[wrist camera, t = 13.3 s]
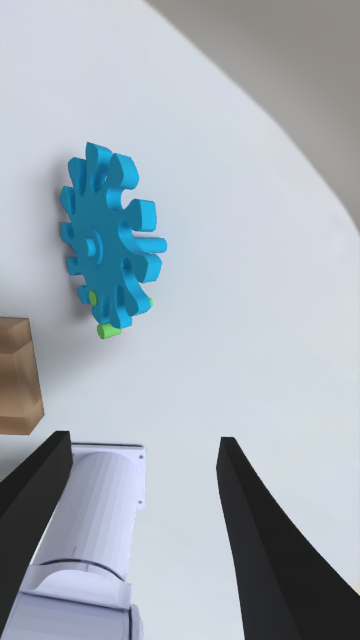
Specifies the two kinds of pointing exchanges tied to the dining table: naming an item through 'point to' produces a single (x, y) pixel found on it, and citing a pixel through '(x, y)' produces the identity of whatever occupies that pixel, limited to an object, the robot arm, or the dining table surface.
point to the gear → (109, 238)
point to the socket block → (18, 379)
